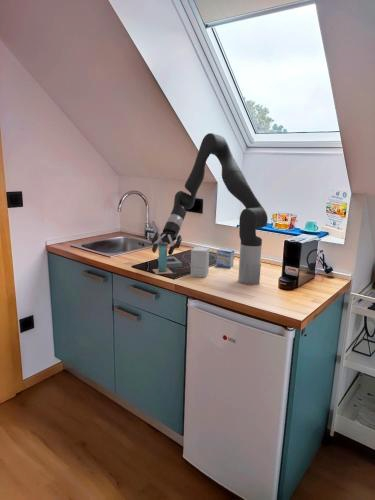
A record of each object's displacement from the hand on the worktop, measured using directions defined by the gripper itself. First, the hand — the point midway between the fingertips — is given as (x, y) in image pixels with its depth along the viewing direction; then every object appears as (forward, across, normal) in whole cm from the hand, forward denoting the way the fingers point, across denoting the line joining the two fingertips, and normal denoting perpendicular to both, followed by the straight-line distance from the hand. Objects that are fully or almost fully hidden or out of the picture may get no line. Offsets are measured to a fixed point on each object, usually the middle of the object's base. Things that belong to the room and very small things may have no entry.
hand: (161, 253), depth 177 cm
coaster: (+6, 0, +8) cm, 10 cm away
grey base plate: (-4, -4, +17) cm, 18 cm away
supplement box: (+2, +17, +12) cm, 21 cm away
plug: (+5, 0, +8) cm, 9 cm away
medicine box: (-12, +22, +27) cm, 37 cm away
